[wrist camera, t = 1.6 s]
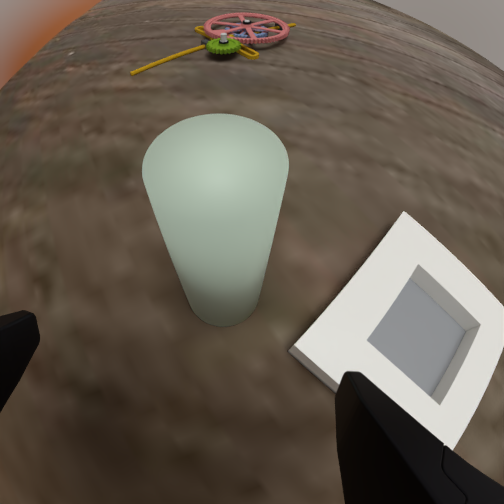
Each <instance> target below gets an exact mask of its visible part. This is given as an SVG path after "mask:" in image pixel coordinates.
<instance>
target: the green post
mask: <svg viewBox="0 0 504 504" xmlns="http://www.w3.org/2000/svg"><path fill="white" fill-rule="evenodd" d="M288 170H289V160H288V155H287V152H286V149H285V147H284V145H283V144H282V142H281V141H280V139H279V138H278V137H277V136H276V135H275V134H274V133H273V132H272V131H271V130H269V129H268V128H267V127H265V126H264V125H262V124H260V123H258V122H256V121H254V120H251V119H248V118H245V117H242V116H237V115H231V114H207V115H200V116H196V117H192V118H189V119H186V120H183V121H181V122H178V123H176V124H175V125H173V126H171V127H169V128H168V129H166V130H165V131H164V132H162V133H161V134H160V135H159V136H158V137H157V138H156V139H155V140H154V141H153V143H152V144H151V145H150V147H149V148H148V150H147V152H146V154H145V157H144V160H143V165H142V176H143V181H144V184H145V187H146V190H147V193H148V196H149V199H150V202H151V205H152V207H153V210H154V213H155V216H156V219H157V222H158V224H159V227H160V230H161V233H162V235H163V238H164V241H165V243H166V246H167V249H168V251H169V254H170V257H171V259H172V262H173V264H174V267H175V270H176V272H177V275H178V277H179V280H180V282H181V285H182V287H183V290H184V292H185V294H186V297H187V299H188V302H189V304H190V306H191V309H192V310H193V312H194V313H195V314H196V315H197V316H198V317H199V318H200V319H201V320H203V321H204V322H206V323H208V324H210V325H213V326H218V327H228V326H233V325H236V324H239V323H241V322H243V321H244V320H246V319H247V318H248V317H249V316H250V315H251V314H252V313H253V311H254V310H255V308H256V306H257V304H258V300H259V296H260V292H261V288H262V284H263V280H264V275H265V271H266V267H267V263H268V258H269V254H270V250H271V246H272V241H273V237H274V233H275V228H276V224H277V220H278V215H279V211H280V207H281V202H282V198H283V193H284V189H285V185H286V180H287V176H288Z"/></svg>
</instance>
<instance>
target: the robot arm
mask: <svg viewBox="0 0 504 504" xmlns="http://www.w3.org/2000/svg"><path fill="white" fill-rule="evenodd" d="M39 342H40V334H39V329H38V325H37V320H36V316H35V315H34V314H33V313H31V312H28V311H25V310H22V311H18V312H14V313H11V314H7V315H3V316H0V412H1V411H2V409H3V407H4V405H5V404H6V402H7V400H8V399H9V397H10V395H11V394H12V392H13V391H14V389H15V387H16V386H17V384H18V382H19V381H20V379H21V377H22V375H23V373H24V371H25V369H26V367H27V365H28V363H29V361H30V360H31V358H32V356H33V354H34V352H35V350H36V348H37V346H38V345H39ZM335 414H336V440H337V452H338V459H339V466H340V472H341V479H342V486H343V493H344V500H345V504H504V487H503V486H502V485H500V484H499V483H497V482H496V481H494V480H492V479H491V478H489V477H488V476H486V475H485V474H483V473H482V472H480V471H479V470H478V469H476V468H475V467H473V466H472V465H470V464H469V463H468V462H466V461H465V460H464V459H463V458H461V457H460V456H459V455H458V454H456V453H455V452H454V451H453V450H451V449H450V448H449V447H448V446H447V445H444V443H443V442H442V441H441V440H439V439H438V438H437V437H436V436H435V435H433V434H432V433H431V432H430V431H429V430H428V429H426V428H425V427H424V426H423V425H422V424H420V423H419V422H418V421H417V420H416V419H415V418H413V417H412V416H411V415H410V414H409V413H408V412H406V411H405V410H404V409H403V408H402V407H401V406H399V405H398V404H397V403H396V402H395V401H394V400H392V399H391V398H390V397H389V396H388V395H387V394H385V393H384V392H383V391H382V390H381V389H380V388H378V387H377V386H376V385H375V384H374V383H373V382H372V381H370V380H369V379H368V378H367V377H366V376H365V375H364V374H362V373H361V372H359V371H346V372H345V373H344V374H343V376H342V379H341V382H340V384H339V387H338V389H337V392H336V395H335Z"/></svg>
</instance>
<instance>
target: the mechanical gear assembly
mask: <svg viewBox="0 0 504 504" xmlns="http://www.w3.org/2000/svg"><path fill="white" fill-rule="evenodd" d="M233 17H239V19H240V21H241V22H242V23H241V22H240V23H227V22H217V21H219V20H222V19H227V18H233ZM244 17H255V18H261V19H266V20H265V21H261V22H256V23H251V21H250V20H245V18H244ZM270 22H275V27H270V28H265V26H263V25H261V24H266V23H270ZM212 24H219V25H228V26H226V27H225V30H212V29H211V25H212ZM294 26H296V24H295V23H292V24H287V23H285V22H284V21H282V20H279V19H277V18H275V17H272V16H269V15H268V16H266V15H263V14H261V15H260V14H257V13H255V14H254V13H243V12H242V13H232V14H231V13H229V14H226V15H225V14H223V15H220V16H218V17H217V16H216V17H213V18H211V19H209V20H207V21H206V22H205V24H204V26H198V27H196V28H195V32H197V33H199V34H201V35H203V36H205V37H207V38H209V39H210V41H209V40H207V39H205V40H201V46H198V47H195V48H192V49H189V50H186V51H183V52H180V53H177V54H174V55H172V56H169V57H166V58H164V59H161V60H159V61H156V62H153V63H151V64H149V65H146V66H144V67H141V68H139V69H137V70H134V71H132V72H130V74H131V76H133V75H136V74H138V73H140V72H143V71H145V70H147V69H150V68H152V67H155V66H157V65H160V64H162V63H165V62H168V61H170V60H173V59H176V58H178V57H181V56H184V55H187V54H190V53H193V52H196V51H199V50H202V49H207V50H208V51H209V52H212V53H216V54H218V53H220V54H223V53H224V54H226V53H229V54H230V52H232V53H234V51H235V52H237V53H239V54H240V55H242V56H244V57H246V58H248V59H254V60H255V59H258V58H259V53H258V52H256V51H255V50H253V49H251V48H249V47H247V46H245V45H243V44H244V43H247V44H249V43H251V44H253V43H255V44H257V43H259V44H260V43H263V44H264V42H265V43H268V42H270V43H271V41H272V42H275V41H278V40H279V41H280V39H281V40H282V39H284V38H286V37H287V36H288V34H289V31H290V28H289V27H294ZM278 29H280V30H283V31H280V30H278ZM202 30H204V31H202ZM268 31H270V32H275V33H280V34H278V35H275V36H271V37H266V36H267V35H268ZM234 32H241V33H240V34H236V33H234ZM259 33H260V34H259ZM241 43H243V44H241ZM241 49H242V50H241ZM243 50H244V51H243ZM245 51H246V52H245ZM247 52H248V53H247ZM249 53H250V54H249ZM251 54H252V55H251Z"/></svg>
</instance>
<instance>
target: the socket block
mask: <svg viewBox="0 0 504 504" xmlns="http://www.w3.org/2000/svg"><path fill="white" fill-rule="evenodd" d="M503 347H504V307H503V305H502V304H501V303H500V302H499V301H498V300H497V299H496V298H495V297H494V296H493V295H492V293H491V292H490V291H489V290H488V289H487V288H486V287H485V286H484V285H483V284H482V283H481V282H480V281H479V280H478V279H477V278H476V277H475V276H474V275H473V274H472V273H471V272H470V271H469V270H468V269H467V268H466V267H465V266H464V265H463V264H462V263H461V262H460V261H459V260H458V259H457V258H456V257H455V256H454V255H453V254H452V253H451V252H450V251H449V250H447V249H446V248H445V247H444V246H443V245H442V244H441V243H440V242H439V241H438V240H437V239H436V238H434V237H433V236H432V235H431V234H430V233H429V232H428V231H427V230H425V229H424V228H423V227H422V226H421V225H420V224H419V223H417V222H416V221H415V220H414V219H413V218H412V217H410V216H409V215H408V214H407V213H406V212H404V211H403V213H402V214H401V215H400V217H399V218H398V219H397V221H396V222H395V223H394V225H393V226H392V227H391V229H390V230H389V231H388V233H387V234H386V235H385V237H384V238H383V239H382V240H381V242H380V243H379V244H378V246H377V247H376V248H375V250H374V251H373V252H372V253H371V255H370V256H369V257H368V258H367V260H366V261H365V262H364V264H363V265H362V266H361V267H360V269H359V270H358V271H357V272H356V273H355V275H354V276H353V277H352V278H351V280H350V281H349V282H348V283H347V284H346V286H345V287H344V288H343V289H342V290H341V292H340V293H339V294H338V295H337V296H336V298H335V299H334V300H333V301H332V302H331V303H330V305H329V306H328V307H327V308H326V309H325V310H324V311H323V313H322V314H321V315H320V316H319V317H318V318H317V319H316V321H315V322H314V323H313V324H312V325H311V326H310V327H309V328H308V330H307V331H306V332H305V333H304V334H303V335H302V336H301V337H300V338H299V339H298V341H297V342H296V343H295V344H294V345H293V346H292V347H291V348H290V349H289V350H288V352H289V353H290V354H291V355H292V356H293V357H294V358H295V359H297V360H298V361H299V362H300V363H301V364H302V365H303V366H304V367H306V368H307V369H308V370H309V371H310V372H311V373H312V374H314V375H315V376H316V377H317V378H318V379H319V380H320V381H322V382H323V383H324V384H325V385H326V386H327V387H329V388H330V389H331V390H332V391H333V392H334V393H336V392H337V389H338V387H339V384H340V382H341V379H342V376H343V374H344V373H345V372H346V371H359V372H361V373H362V374H364V375H365V376H366V377H367V378H368V379H369V380H370V381H372V382H373V383H374V384H375V385H376V386H377V387H378V388H380V389H381V390H382V391H383V392H384V393H385V394H387V395H388V396H389V397H390V398H391V399H392V400H394V401H395V402H396V403H397V404H398V405H399V406H401V407H402V408H403V409H404V410H405V411H406V412H408V413H409V414H410V415H411V416H412V417H413V418H415V419H416V420H417V421H418V422H419V423H420V424H422V425H423V426H424V427H425V428H426V429H428V430H429V431H430V432H431V433H432V434H433V435H435V436H436V437H437V438H438V439H439V440H441V441H442V442H443V443H444V445H447V446H448V447H449V448H450V449H451V450H453V449H454V447H455V445H456V444H457V442H458V440H459V439H460V437H461V435H462V434H463V432H464V430H465V429H466V427H467V425H468V423H469V421H470V419H471V418H472V416H473V414H474V412H475V410H476V408H477V406H478V404H479V402H480V400H481V398H482V396H483V394H484V392H485V390H486V388H487V386H488V383H489V381H490V379H491V377H492V374H493V372H494V370H495V367H496V365H497V362H498V360H499V357H500V355H501V352H502V350H503Z"/></svg>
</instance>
